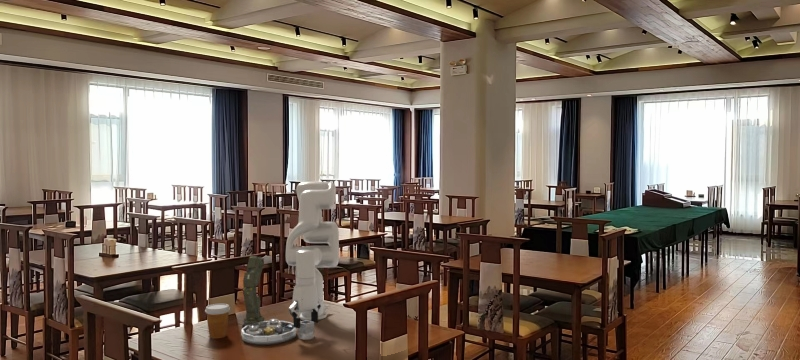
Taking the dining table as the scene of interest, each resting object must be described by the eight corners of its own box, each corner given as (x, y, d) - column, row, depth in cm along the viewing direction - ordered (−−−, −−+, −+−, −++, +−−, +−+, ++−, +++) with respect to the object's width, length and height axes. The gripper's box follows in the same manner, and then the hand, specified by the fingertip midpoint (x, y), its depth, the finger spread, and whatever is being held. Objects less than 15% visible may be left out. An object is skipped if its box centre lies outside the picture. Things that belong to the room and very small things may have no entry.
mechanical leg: (251, 329, 239) (257, 255, 244) (235, 328, 240) (241, 254, 246) (265, 327, 252) (271, 257, 258) (249, 326, 253) (256, 257, 259)
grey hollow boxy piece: (306, 333, 235) (306, 319, 235) (317, 336, 232) (316, 321, 231) (295, 337, 230) (295, 322, 230) (306, 340, 227) (306, 325, 226)
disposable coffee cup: (200, 338, 230) (199, 308, 230) (215, 331, 239) (215, 302, 238) (220, 340, 227) (219, 310, 226) (235, 333, 236) (234, 304, 235)
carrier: (271, 325, 247) (271, 314, 247) (307, 334, 235) (307, 322, 235) (230, 338, 230) (230, 326, 230) (267, 348, 218) (266, 335, 218)
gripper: (314, 277, 239) (314, 318, 239) (282, 284, 225) (282, 328, 225) (327, 279, 234) (328, 321, 235) (296, 286, 220) (296, 331, 221)
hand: (305, 324), depth 230 cm, fingers open, 9 cm apart
